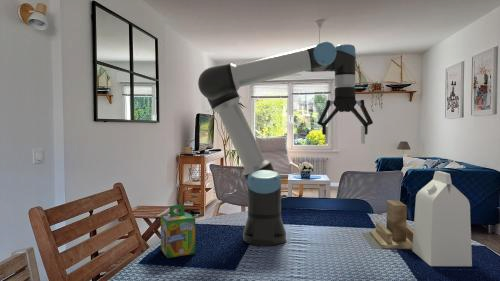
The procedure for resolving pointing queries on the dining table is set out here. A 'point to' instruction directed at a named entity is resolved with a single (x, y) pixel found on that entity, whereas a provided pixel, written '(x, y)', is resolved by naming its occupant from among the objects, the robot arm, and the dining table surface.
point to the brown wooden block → (397, 220)
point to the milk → (442, 224)
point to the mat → (374, 243)
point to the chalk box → (177, 233)
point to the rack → (385, 237)
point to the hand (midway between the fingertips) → (344, 143)
